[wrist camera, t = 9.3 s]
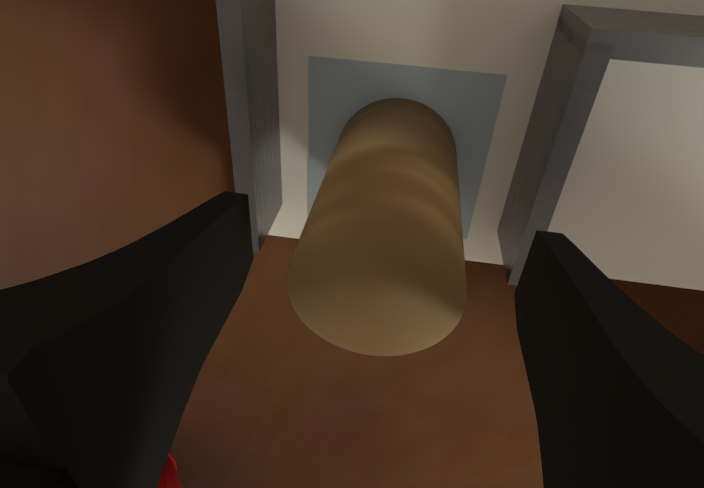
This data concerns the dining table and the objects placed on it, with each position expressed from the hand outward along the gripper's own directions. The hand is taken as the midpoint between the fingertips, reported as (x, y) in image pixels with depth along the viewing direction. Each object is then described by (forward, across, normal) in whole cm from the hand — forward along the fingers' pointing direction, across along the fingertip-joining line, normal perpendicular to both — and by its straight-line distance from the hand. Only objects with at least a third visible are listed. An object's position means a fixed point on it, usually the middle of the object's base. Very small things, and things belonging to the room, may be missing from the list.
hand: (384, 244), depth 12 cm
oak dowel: (+5, 0, 0) cm, 5 cm away
